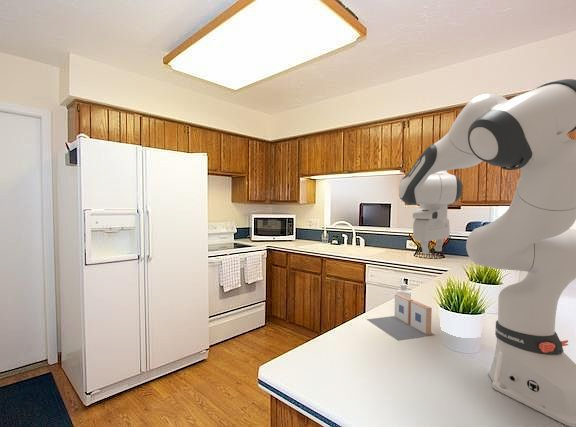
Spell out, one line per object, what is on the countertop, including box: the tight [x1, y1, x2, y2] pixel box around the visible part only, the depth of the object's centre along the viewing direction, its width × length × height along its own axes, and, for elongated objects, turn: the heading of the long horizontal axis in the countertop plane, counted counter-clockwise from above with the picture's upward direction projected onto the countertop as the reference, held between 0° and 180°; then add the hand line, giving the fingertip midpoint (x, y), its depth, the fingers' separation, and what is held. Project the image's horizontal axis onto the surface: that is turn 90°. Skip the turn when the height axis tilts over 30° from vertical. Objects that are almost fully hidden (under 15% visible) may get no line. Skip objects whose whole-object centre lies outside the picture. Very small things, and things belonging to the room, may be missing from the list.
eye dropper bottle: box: [396, 280, 412, 299], centre depth 128 cm, size 4×6×12 cm
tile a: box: [410, 300, 433, 335], centre depth 106 cm, size 8×2×9 cm, turn 17°
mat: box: [366, 315, 436, 342], centre depth 109 cm, size 19×15×1 cm
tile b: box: [394, 293, 414, 325], centre depth 115 cm, size 8×2×9 cm, turn 17°
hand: (432, 252), depth 106 cm, fingers open, 8 cm apart
